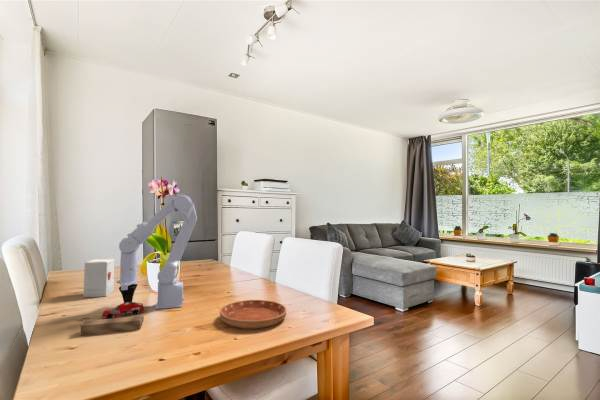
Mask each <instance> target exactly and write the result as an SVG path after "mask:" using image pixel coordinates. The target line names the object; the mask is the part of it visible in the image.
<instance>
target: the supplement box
mask: <svg viewBox="0 0 600 400" xmlns="http://www.w3.org/2000/svg"><path fill="white" fill-rule="evenodd" d="M83 275H84V277H83V294H82V295H83V298H99V297H100V298H101V297H102V298H103V297H107V296H109V295H110V294H112V293H113V292H114V288H115V287H114V283H115V258H97V259H96V258H95V259H91V260H88V261H85V262H84V274H83Z"/></svg>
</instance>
